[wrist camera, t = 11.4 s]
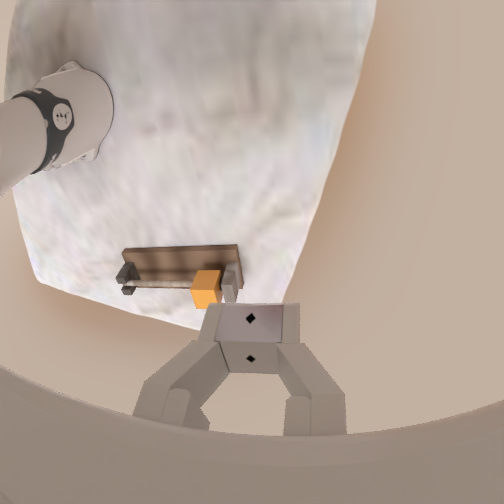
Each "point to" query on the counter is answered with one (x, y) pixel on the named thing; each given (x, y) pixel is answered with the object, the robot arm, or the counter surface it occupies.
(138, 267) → the cord board
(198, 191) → the counter surface
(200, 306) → the notched orange cube
